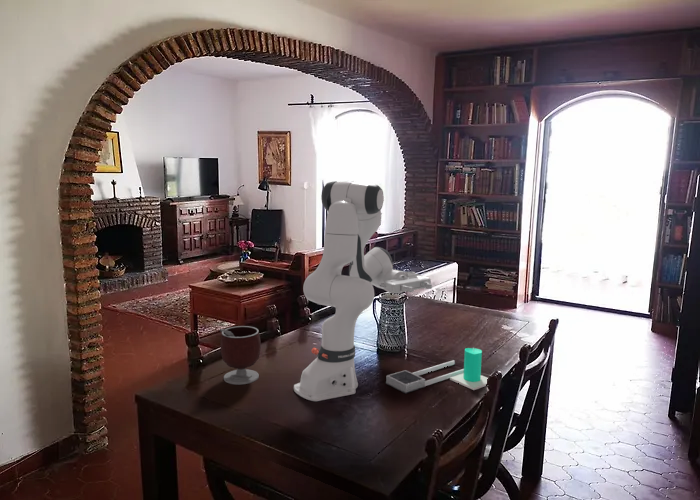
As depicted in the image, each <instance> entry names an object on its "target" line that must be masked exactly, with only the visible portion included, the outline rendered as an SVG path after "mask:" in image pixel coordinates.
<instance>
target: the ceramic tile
mask: <svg viewBox="0 0 700 500" xmlns="http://www.w3.org/2000/svg"><path fill="white" fill-rule="evenodd" d="M463 376H464V373H463V374H460V375H457V376H454V377H450V378H449V380H450V381H451V382H455V383H457V384H458V383H459V385H461V386H464V387H466V388H468V389H470V390H473V391H475V390H479V389H481V388H483V387H487V386H486V384H487V379H488V378H489V377H487V376H484V375H483V374H481V379H480V381H478V382H470V381H467V380H465V379H464V378H463Z"/></svg>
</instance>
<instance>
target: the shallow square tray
mask: <svg viewBox="0 0 700 500" xmlns="http://www.w3.org/2000/svg"><path fill="white" fill-rule="evenodd" d="M385 376H386V379H385V380H386V381H385V384H386V385H388V386H389V387H392V388H394V389H395V390H398V391H400V392H401V393H403V394H409V393H412V392H415V391H418V390H420V389H424V388H425V387H426V386H425V381H426V379H425V378H423V377H422V376H421V375H419V376H417V375H415V374H413V372H411V371H409V370H406V369H405V370H402V371H397V372H395V373H390V374H387V375H385Z"/></svg>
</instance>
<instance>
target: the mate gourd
mask: <svg viewBox="0 0 700 500" xmlns="http://www.w3.org/2000/svg"><path fill="white" fill-rule="evenodd" d="M219 332H221V337H220V353H221V358H222V360H223V362H224V363H225V365H227V367H229V368H232V369H234V370H231V371H229V372H227V373H225V374H224V375H223V380H224V382H225V383H228V384H230V385H239V386H240V385H246V384H247V385H248V384H252V383H254V382H256V381H257V380H259V373H258V371H256V370H252V369H247V368H249V367H253V366H254V365H255V364H256V362H257V361H258V360H259V359H260V355H261V354H260V353H261V347H262V346H261V343H262V342H261V335H260V331H259V328H257V327H255V326H248V325H238V326H232V327H228V328H225V329H224V328H223V329H222V328H220V329H219Z"/></svg>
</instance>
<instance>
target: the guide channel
mask: <svg viewBox="0 0 700 500" xmlns="http://www.w3.org/2000/svg"><path fill="white" fill-rule="evenodd" d="M455 361H456V360H454V359H452V360H450V361H446V362H443V363H440V364H437V365H433V366H431V367H427V368H424V369H420V370H417V371H414V372H413V371H412V373H413V374H415V375H417V376H422V375H425V374H428V372H429V373H431V371H432V372H434V371H437V370H441V369H444V367H445V368H447V366H448V367H451V366H454V365H455V364H456V362H455ZM463 373H464V368H462V369H458V370H455V371H452V372H449V373H446V374H443V375H439V376H436V377H434V378H430V379H427V380H425V387H426V386H430V385H433V384H436V383H438V382H442V381H445V380H448V379H450V377H454V376H457V375H460V374H463Z"/></svg>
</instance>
